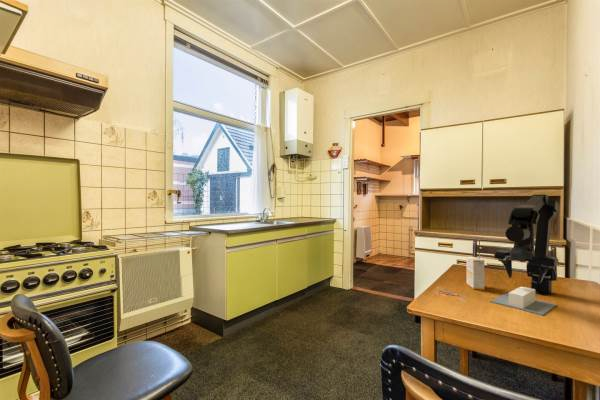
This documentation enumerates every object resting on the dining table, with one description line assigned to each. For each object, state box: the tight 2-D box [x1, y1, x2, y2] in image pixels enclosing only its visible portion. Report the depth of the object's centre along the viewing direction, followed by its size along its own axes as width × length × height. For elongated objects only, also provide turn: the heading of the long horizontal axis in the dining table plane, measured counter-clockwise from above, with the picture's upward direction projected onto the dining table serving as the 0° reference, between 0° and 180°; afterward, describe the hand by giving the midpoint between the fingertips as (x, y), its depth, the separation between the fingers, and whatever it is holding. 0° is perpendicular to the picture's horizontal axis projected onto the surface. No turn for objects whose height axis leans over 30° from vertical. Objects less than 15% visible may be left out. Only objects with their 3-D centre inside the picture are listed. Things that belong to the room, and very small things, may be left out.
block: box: [508, 285, 536, 308], centre depth 108 cm, size 4×4×13 cm
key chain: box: [437, 290, 467, 303], centre depth 117 cm, size 13×7×1 cm, turn 37°
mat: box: [489, 292, 557, 316], centre depth 108 cm, size 16×16×1 cm
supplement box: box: [465, 256, 485, 291], centre depth 128 cm, size 8×5×13 cm, turn 168°
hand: (524, 280), depth 109 cm, fingers open, 9 cm apart
